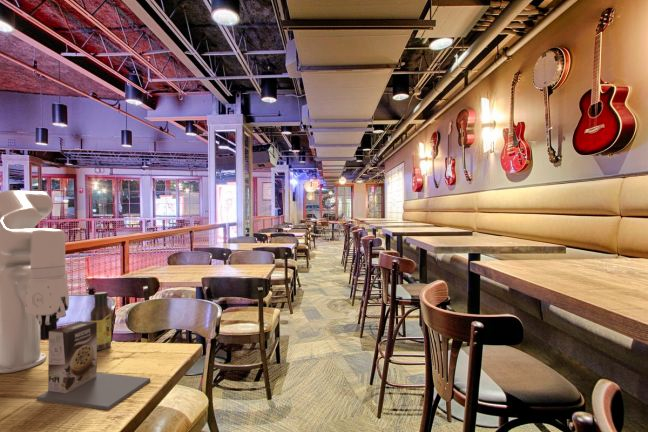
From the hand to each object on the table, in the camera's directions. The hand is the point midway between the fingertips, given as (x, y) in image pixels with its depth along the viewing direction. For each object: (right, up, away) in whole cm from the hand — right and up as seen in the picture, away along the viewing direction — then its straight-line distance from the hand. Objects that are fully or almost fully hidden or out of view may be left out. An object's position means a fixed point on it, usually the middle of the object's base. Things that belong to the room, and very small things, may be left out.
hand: (48, 337), depth 90 cm
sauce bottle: (-3, -14, +25) cm, 29 cm away
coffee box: (+8, -13, -2) cm, 15 cm away
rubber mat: (+16, -13, -3) cm, 21 cm away
